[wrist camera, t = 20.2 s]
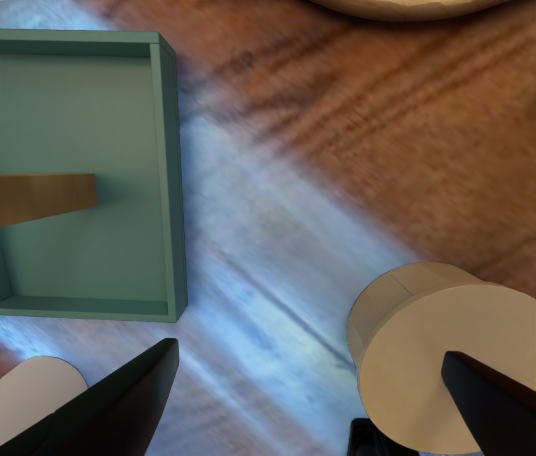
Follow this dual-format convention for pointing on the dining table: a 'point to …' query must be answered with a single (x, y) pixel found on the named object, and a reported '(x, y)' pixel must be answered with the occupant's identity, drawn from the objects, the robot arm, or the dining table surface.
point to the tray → (105, 174)
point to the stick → (44, 195)
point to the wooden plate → (407, 8)
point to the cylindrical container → (35, 393)
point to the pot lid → (431, 358)
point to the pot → (396, 296)
